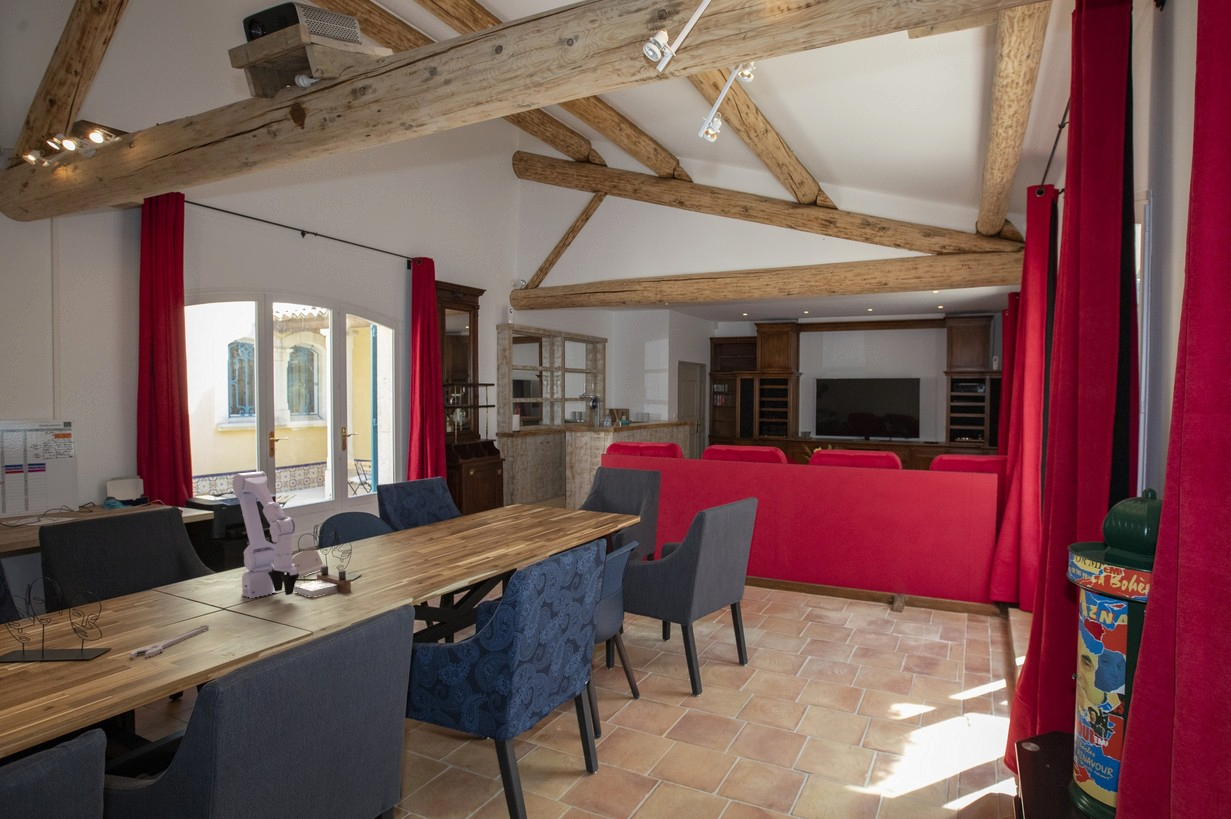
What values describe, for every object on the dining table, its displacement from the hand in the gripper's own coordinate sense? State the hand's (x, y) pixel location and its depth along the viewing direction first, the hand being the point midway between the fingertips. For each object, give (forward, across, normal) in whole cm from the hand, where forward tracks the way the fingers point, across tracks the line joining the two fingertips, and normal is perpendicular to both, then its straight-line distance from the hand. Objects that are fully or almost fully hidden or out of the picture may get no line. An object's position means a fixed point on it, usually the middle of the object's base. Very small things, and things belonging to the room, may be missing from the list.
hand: (283, 592), depth 245 cm
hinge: (+3, +30, -24) cm, 38 cm away
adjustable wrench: (+3, -18, +40) cm, 44 cm away
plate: (+3, 0, -12) cm, 12 cm away
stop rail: (+2, 0, -18) cm, 19 cm away
